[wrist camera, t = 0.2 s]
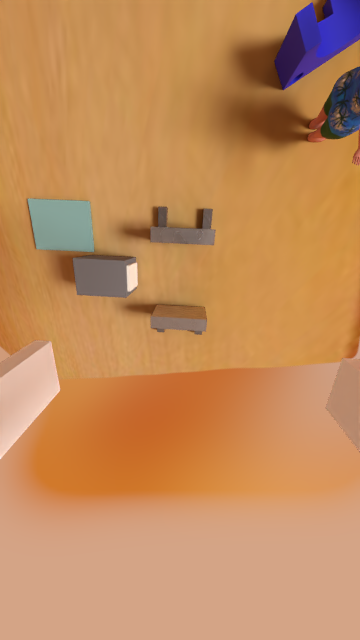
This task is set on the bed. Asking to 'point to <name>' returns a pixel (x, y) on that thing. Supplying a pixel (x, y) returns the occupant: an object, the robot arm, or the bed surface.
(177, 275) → the bed surface
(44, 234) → the mat
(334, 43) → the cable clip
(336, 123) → the toy character
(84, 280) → the grey rectangular block
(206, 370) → the bed surface
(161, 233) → the channel
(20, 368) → the robot arm
